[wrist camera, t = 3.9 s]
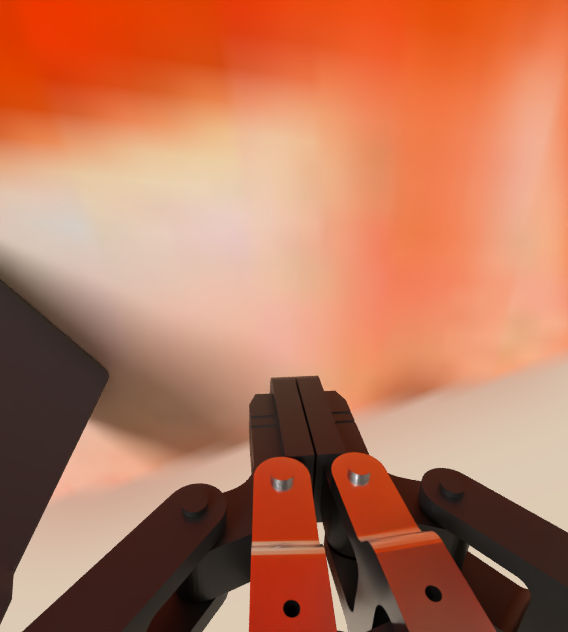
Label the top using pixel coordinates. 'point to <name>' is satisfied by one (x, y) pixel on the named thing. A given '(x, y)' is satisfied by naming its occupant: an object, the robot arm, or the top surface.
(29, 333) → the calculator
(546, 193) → the top surface
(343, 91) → the top surface
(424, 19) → the top surface
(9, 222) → the top surface
